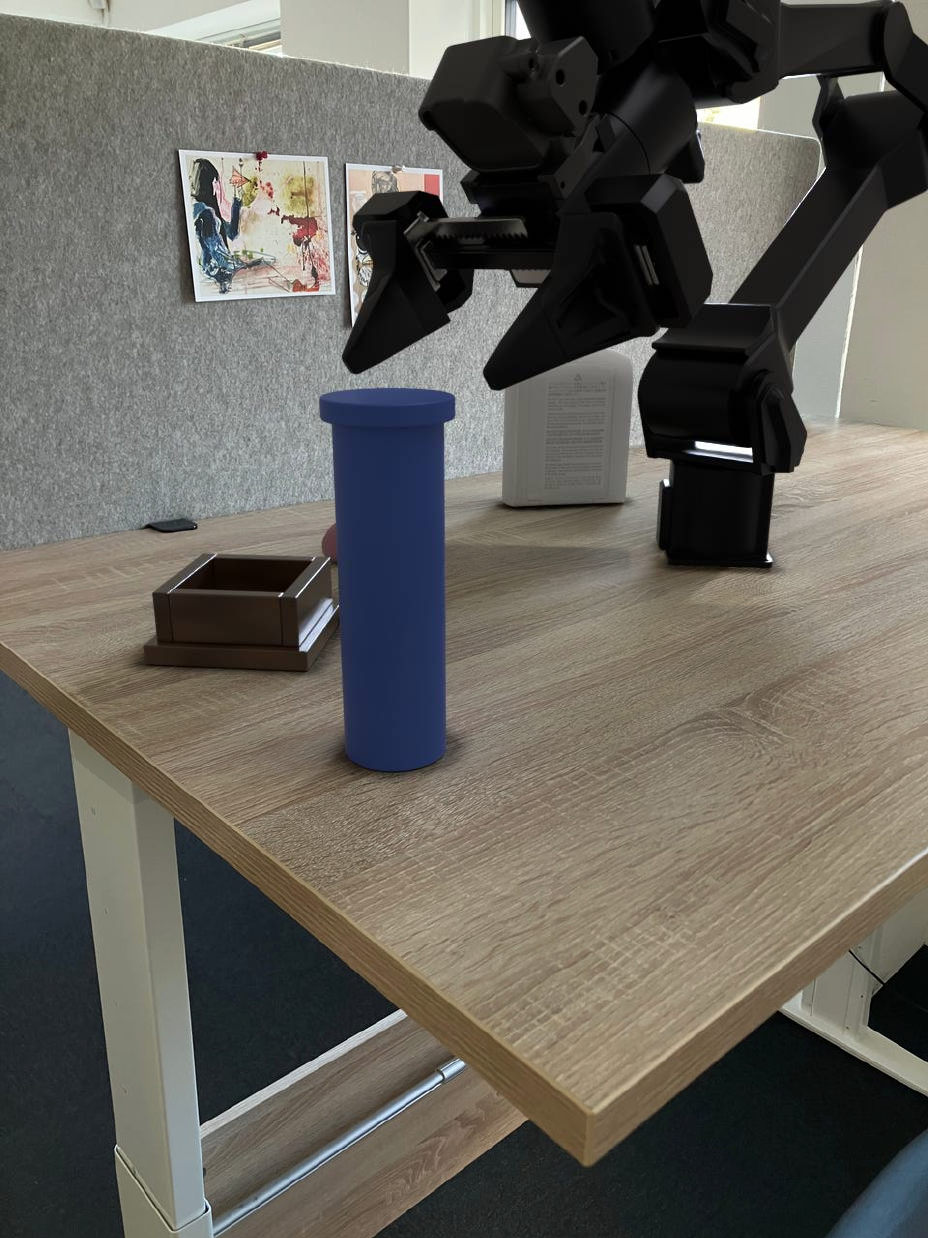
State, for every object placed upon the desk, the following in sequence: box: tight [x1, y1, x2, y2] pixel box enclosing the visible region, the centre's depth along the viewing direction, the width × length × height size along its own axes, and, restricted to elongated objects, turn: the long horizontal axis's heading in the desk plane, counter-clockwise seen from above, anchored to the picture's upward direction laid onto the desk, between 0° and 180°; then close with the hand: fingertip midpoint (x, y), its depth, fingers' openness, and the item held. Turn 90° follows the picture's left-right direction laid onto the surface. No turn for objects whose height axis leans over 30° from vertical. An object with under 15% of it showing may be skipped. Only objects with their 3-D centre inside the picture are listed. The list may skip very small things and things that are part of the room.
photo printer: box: [501, 348, 634, 508], centre depth 80 cm, size 10×4×12 cm, turn 103°
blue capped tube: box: [318, 387, 456, 772], centre depth 38 cm, size 5×5×14 cm
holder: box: [142, 552, 340, 672], centre depth 52 cm, size 8×8×4 cm
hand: (413, 373), depth 45 cm, fingers open, 9 cm apart
